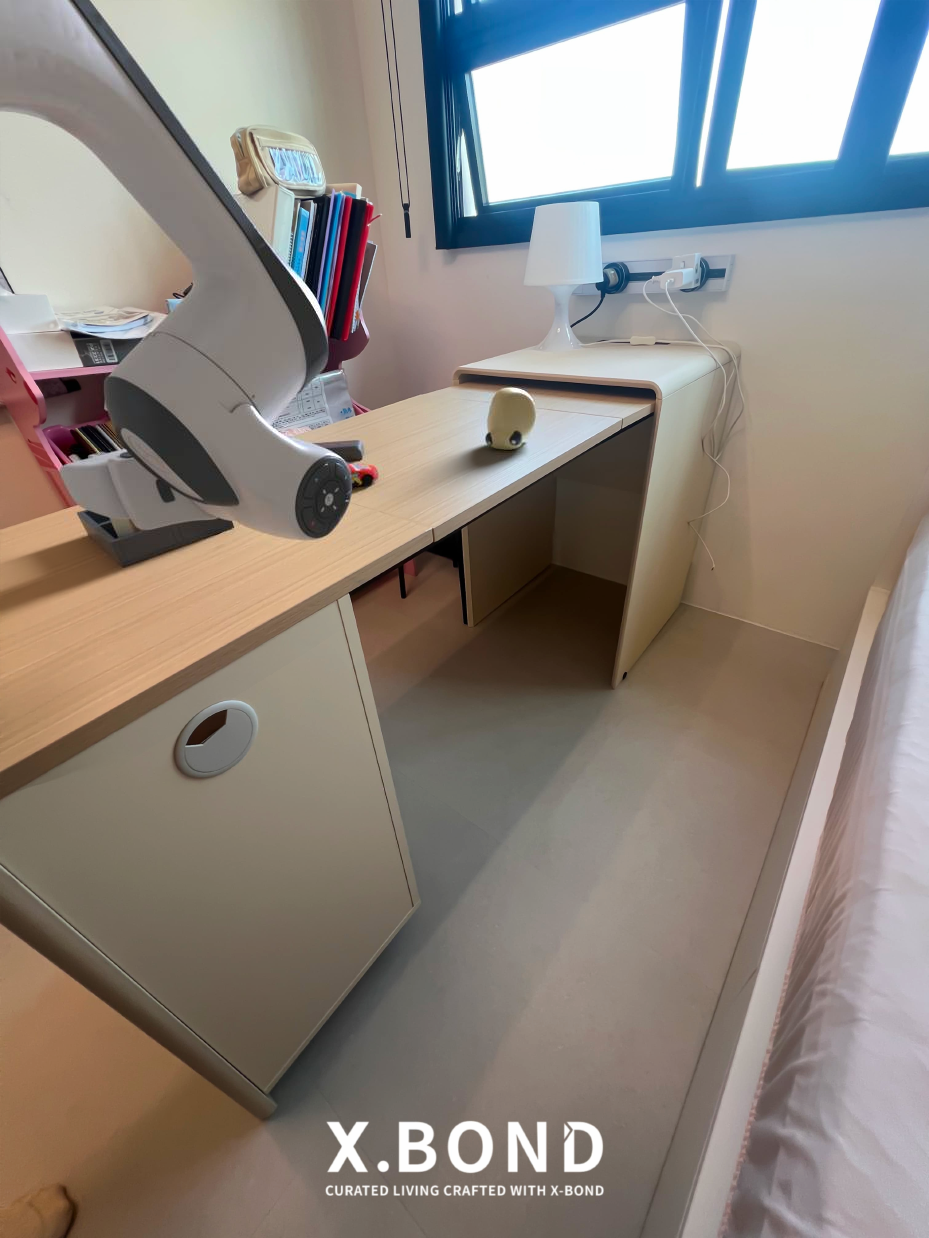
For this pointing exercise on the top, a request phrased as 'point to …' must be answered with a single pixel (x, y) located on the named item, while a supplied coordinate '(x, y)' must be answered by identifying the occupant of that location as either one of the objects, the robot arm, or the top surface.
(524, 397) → the yellow toy head
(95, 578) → the top surface
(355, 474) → the race car
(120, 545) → the compartment tray
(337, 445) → the usb drive
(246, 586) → the top surface
